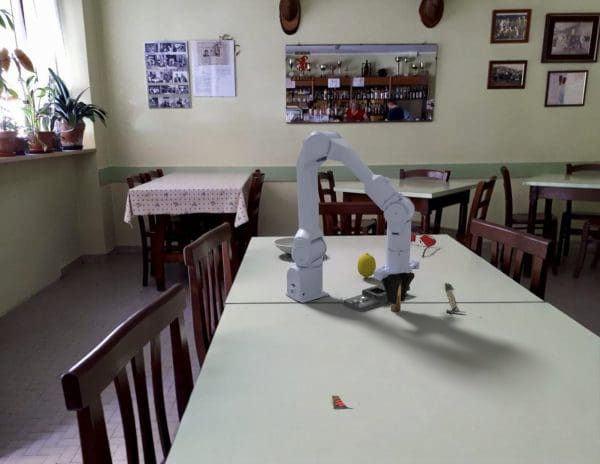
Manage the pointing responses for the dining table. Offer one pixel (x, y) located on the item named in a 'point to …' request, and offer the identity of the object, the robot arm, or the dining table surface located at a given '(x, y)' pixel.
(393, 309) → the copper pin
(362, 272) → the lemon
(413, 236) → the glasses
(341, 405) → the matchbox
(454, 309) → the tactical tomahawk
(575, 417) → the dining table surface
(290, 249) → the dish
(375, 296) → the chain joint
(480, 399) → the dining table surface
